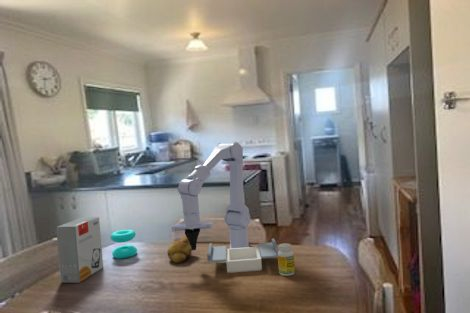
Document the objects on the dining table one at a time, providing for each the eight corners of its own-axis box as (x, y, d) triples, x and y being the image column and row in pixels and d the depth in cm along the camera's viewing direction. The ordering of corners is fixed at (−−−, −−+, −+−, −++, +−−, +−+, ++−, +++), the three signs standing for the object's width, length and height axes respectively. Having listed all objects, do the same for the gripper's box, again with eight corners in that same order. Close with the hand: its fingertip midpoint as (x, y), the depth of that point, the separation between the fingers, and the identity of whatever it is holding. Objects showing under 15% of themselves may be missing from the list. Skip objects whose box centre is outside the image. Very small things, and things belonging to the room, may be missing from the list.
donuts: (130, 234, 150) (106, 236, 150) (133, 258, 150) (108, 260, 151) (138, 228, 159) (115, 229, 160) (140, 250, 160) (117, 252, 161)
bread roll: (187, 264, 139) (185, 243, 139) (162, 265, 141) (160, 244, 140) (195, 253, 152) (194, 233, 151) (173, 253, 153) (171, 234, 153)
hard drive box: (79, 283, 128) (73, 227, 127) (60, 283, 130) (54, 227, 128) (104, 266, 143) (99, 216, 142) (86, 266, 145) (81, 216, 143)
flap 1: (209, 248, 142) (209, 243, 142) (226, 247, 142) (225, 242, 142) (207, 262, 127) (207, 256, 127) (225, 261, 127) (225, 254, 127)
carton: (227, 258, 142) (226, 248, 142) (258, 256, 142) (257, 246, 142) (227, 272, 128) (226, 261, 128) (261, 270, 128) (261, 259, 128)
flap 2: (258, 245, 142) (257, 239, 142) (274, 244, 142) (274, 238, 142) (261, 258, 127) (261, 252, 127) (279, 257, 127) (279, 250, 127)
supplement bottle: (285, 268, 128) (283, 241, 127) (298, 272, 124) (296, 244, 123) (275, 273, 124) (273, 245, 124) (288, 277, 120) (286, 248, 120)
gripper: (169, 216, 129) (172, 254, 130) (210, 213, 129) (213, 251, 130) (172, 211, 136) (175, 248, 137) (211, 209, 137) (214, 245, 137)
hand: (194, 249), depth 134 cm, fingers closed
